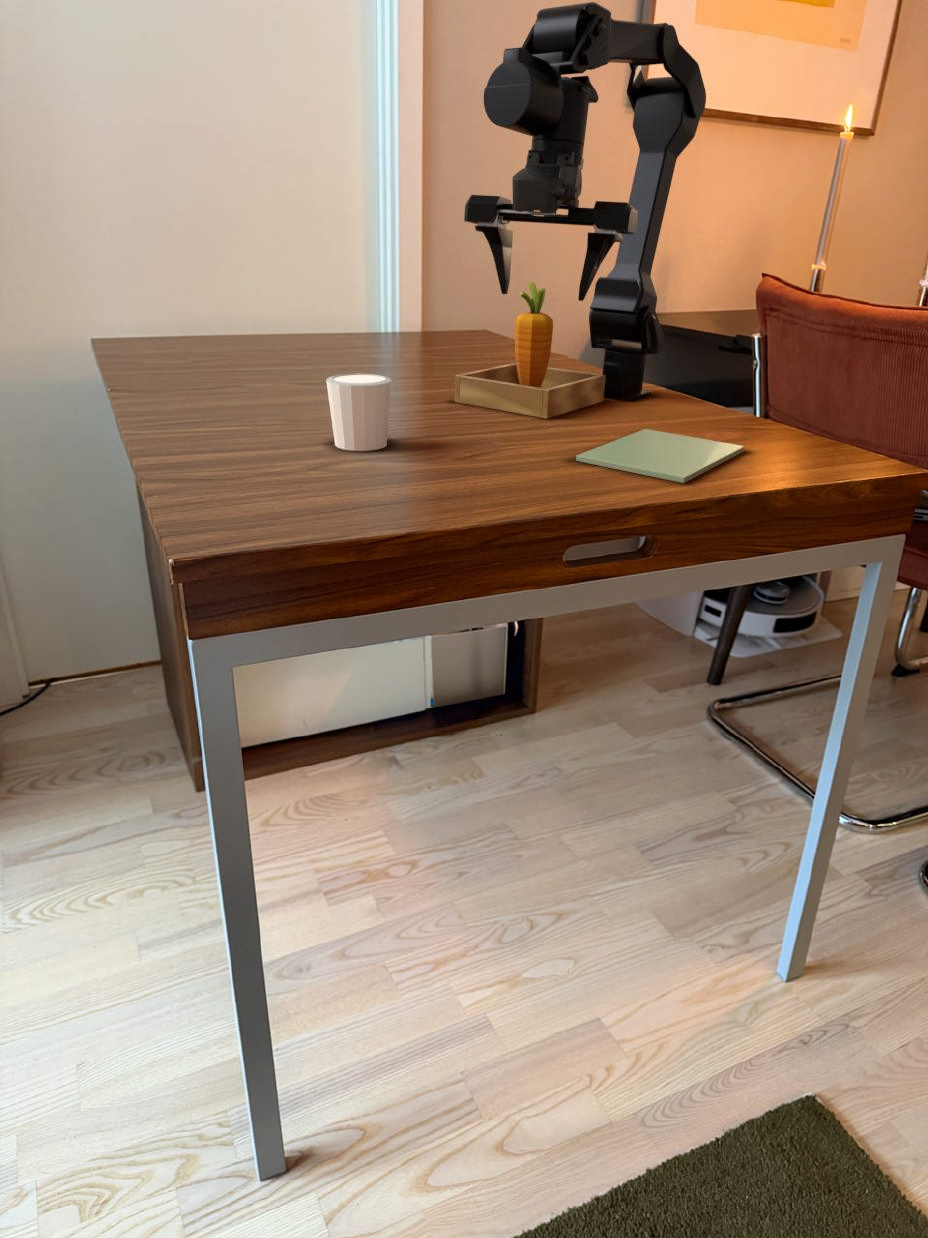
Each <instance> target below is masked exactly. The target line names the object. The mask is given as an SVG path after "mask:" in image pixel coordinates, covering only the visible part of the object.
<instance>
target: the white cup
mask: <svg viewBox="0 0 928 1238" xmlns="http://www.w3.org/2000/svg"><path fill="white" fill-rule="evenodd" d="M325 381H326V382H325V383H326V388H327V397H328V403H329V410H330V411H329V412H330V418H331V419H330V420H331V425H332V433H333V441H334V446H335V447H336V448H338V449H341V450H344V451H353V452H369V451H377V450H381V449H383V448H385V447H387V446H388V445H387V444H388V430H389V418H390V403H391V388H392V378H390V377H388V376H386V375H380V374H374V373H373V374H372V373H344V374H343V373H342V374H338V375H337V374H336V375H332V376H329V377H327V378H326V380H325Z"/></svg>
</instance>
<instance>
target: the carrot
mask: <svg viewBox="0 0 928 1238" xmlns="http://www.w3.org/2000/svg"><path fill="white" fill-rule="evenodd" d="M528 286H529V291H530V294H531V297H530V295H529V294H528V293H526V292H525V291H520V292H519V296H520V297H521V298H523V299H524V300H525V301H526V303H527V305H528V307H529V311H528V312H523V313H521V314H519V315H518V316H517V317H516V320H515V325H514V356H515V363H516V366H517V373H518V378H519V382H520V384H521V385H527V386H533V387H540V388H541V385H542V383H543V381H544V378H545V374H546V371H547V367H549V362H550V357H551V353H552V352H551V351H552V345H553V333H554V321H553V318H552V317H551V316H550V315H548V314H546V313H544V312H541V310H542V307H543V304H544V301H545V298H546V289H545V288H544V287H540V288H537V286H536V284H535V281H530V282H529V283H528ZM537 289H538V290H537Z"/></svg>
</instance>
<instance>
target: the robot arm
mask: <svg viewBox="0 0 928 1238" xmlns="http://www.w3.org/2000/svg"><path fill="white" fill-rule="evenodd" d="M609 63H612V64H613V63H616V64H628V65H629V68H630V70H631V71H630V75H629V80H628V82H627V83H628V84H627V87H626V88H627V89H626V95H627V98H628V100H629V103H630V105H631V108H632V111H633V119H632V129H633V132H634V136H635V138H636V142H637V145H638V148H639V150H638V151H639V152H638V157H637V160H636V161H637V162H636V166H635V171H634V175H633V180H632V184H631V190H630V194H629V198H628V202H625V201H624V202H623V201H603V200H595V203H594V206H593V207H579V205H580V200H579V197H580V196H581V194H582V189H583V187H582V186H583V185H582V184H583V174H582V170H583V169H584V149H585V143H586V142H585V141H586V131H587V125H588V124H587V122H588V115H589V106H590V104H596V103H598V101H599V95H598V94H599V93H598V91H597V90H596V88H595V87H594V85H592V82H591V80H590V77H589V75H581V76H571V77H568V76H566V75H578V74H584V73H585V72H586V71H590V70H591V71H592V70H595V69H598V68H601V67H603V66H606V65H608V64H609ZM652 65H653V66H654V65H662V66H663V69H664V70H665V71H666V73H668V74H669V75H670V76H663V77H650V78H647V79H646V80H645V78H644V77H645V76H644V73H643V71H642V66H652ZM563 75H565V76H563ZM706 92H707V91H706V87H705V83H704V80H703V76H702V71H701V68H700V65H699V62H698V61H696V59H695V58H694V57H693V56H692V55H691V54H690V53H689V51H687V50H686V49H685V48H684V47H683V45H682V44H680V42H679V36H678V34H677V31H676V28H675V26H674V25H672V24H669V23H668V22H661V23H660V22H659V23H647V22H637V21H627V20H618V19H614V18H612V11H610V10H609V9H607V8H606V7H604V6H602V5H600V4H599V3H598V2H595V1H589V2H584V3H575V4H567V5H562V6H554V7H553V6H552V7H546V8H542V9H540V10H539V11H538V12H537V14H536V19H535V22H534V23H533V25H532V27H531V29H530V31H529V32H528V34H527V36H526V38H525V40H524V42H523V44H522V46H521V47H511V48H505V49H504V50H503V56H502V62H501V63H500V64H499V65H498V66H497V67H495V68H494V70H493V71H492V73H491V74H490V76H489V78H488V80H487V83H486V87H484V90H483V108H484V111H485V114H486V116H487V118H488V119H489V121H490V122H491V123H493V124H494V125H495V126H497V127H500V128H504V129H506V130H510V131H513V132H515V133H516V132H517V133H519V134H523V135H526V136H529V137H531V146H530V149H528V150H527V155H526V163H525V166H524V168H521V169H520V170H519V171H518V172H516V173H514V174H513V176H512V177H511V179H512V185H511V186H512V200H511V199H510V198H509V199H508V198H506V197H503V196H500V195H486V194H485V195H484V194H483V195H482V194H471V195H470V196H469V198H468V199H467V200H466V203H465V204H464V215H463V217H464V218H463V222H466V223H470V224H474V229H475V231H476V232H479V233H483V235H484V237H485V239H486V241H487V243H488V245H489V249H490V251H491V254H492V257H493V261H494V265H495V266H494V267H495V270H496V274H497V279H498V283H499V288H500V291H501V294H502V295H507V294H508V292H509V288H510V282H511V269H512V268H511V267H512V254H513V253H512V252H513V241H514V240H513V236H514V230H512V229H508V228H507V226H508V224H509V223H510V222H517V223H533V224H549V225H570V226H586V227H593V229H594V232H589V231H588V232H587V242H586V252H585V257H584V263H583V267H582V272H581V277H580V282H579V286H578V287H579V288H578V301H580V302H582V301H584V300H585V299H586V296H587V294H588V292H589V290H590V287H592V286H591V285H592V283H593V281H594V280H595V277H596V275H597V272H598V271H599V270H600V267H601V265H602V263H603V262H604V260H605V259H606V257H607V256H608V253H609V252H610V250H611V249H612V247H613V245H614V244H615V243H619V245H618V249H617V253H616V258H615V263H614V266H613V268H612V270H611V271H610V272H609V273H608V274H607V276H606V277H605V276H599V278H598V279H597V281H596V282H595V285H594V292H593V298H592V300H591V301H592V302H591V304H590V306H589V309H590V310H589V312H588V324H589V334H590V335H589V336H590V347H591V348H592V349H603V350H604V356H603V365H602V374H601V375H606V379H605V389H604V397H607V398H614V399H621V400H626V401H634V400H637V399H640V398H644V397H647V396H649V395H651V394H652V390H649V389H644V388H643V384H644V377H645V368H646V367H645V366H646V359H647V355H659V352H661V349H662V347H663V344H664V343H663V342H664V339H665V335H664V334H665V333H664V332H663V329H662V326H661V323H660V320H659V317H658V314H657V311H656V310H657V304H658V294H657V292H656V289H655V285H654V283H653V282H654V281H653V279H652V277H651V275H652V269H653V265H654V261H655V257H656V253H657V248H658V243H659V238H660V234H661V230H662V225H663V221H664V216H665V211H666V208H667V202H668V198H669V194H670V190H671V185H672V180H673V177H674V174H675V173H674V172H675V168H676V164H677V160H678V158H679V156H681V154H682V153H683V152H684V150H685V149H686V148H687V147H688V146H689V144H690V143H691V142H692V141H693V139H694V138H695V136H696V133H697V130H698V127H699V124H700V120H701V118H702V116H703V114H704V112H705V108H706V104H707V93H706ZM558 210H567V214H558V212H557V211H558Z"/></svg>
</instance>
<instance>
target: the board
mask: <svg viewBox="0 0 928 1238" xmlns="http://www.w3.org/2000/svg"><path fill="white" fill-rule="evenodd" d="M743 452H745V446H744V445H739V444H734V443H729V442H728V443H727V442H723V441H716V440H711V439H705V438H701V437H696V436H695V437H694V436H689V435H683V434H677V433H672V432H665V431H660V430H655V429H648V428H643V429H641V430H639V431H636V432H632V433H631V434H627V435H626V436H623V437H621V438H617V439H615V440H613V441H610V442H607V443H605V444H602V445H600V446H597V447H594V448H592V449H590V450H587V451H585V452H582V453H579V454H576V455H575V461H576V462H580V463H585V464H589V465H593V466H598V467H604V468H608V469H613V470H617V471H623V472H628V473H632V474H637V475H642V476H647V477H652V478H655V479H661V480H666V481H670V482H675V483H680V484H686V483H687V482H689V481H691V480H693V479H696V477H697V478H698V477H699V476H700V475H702V474H704V473H706V472H708V471H710V470H712V469H714V468H716V467H717V466H719V465H721V464H723V463H725V462H727V461H728V460H731V459H733V458H734V457H736V456H738V455H740V454H742V453H743Z"/></svg>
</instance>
